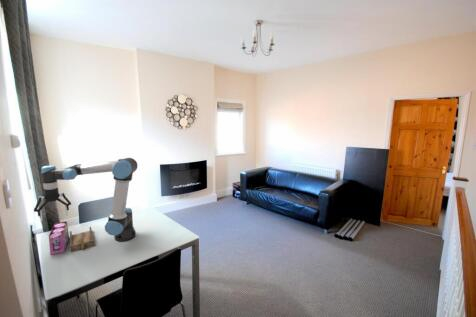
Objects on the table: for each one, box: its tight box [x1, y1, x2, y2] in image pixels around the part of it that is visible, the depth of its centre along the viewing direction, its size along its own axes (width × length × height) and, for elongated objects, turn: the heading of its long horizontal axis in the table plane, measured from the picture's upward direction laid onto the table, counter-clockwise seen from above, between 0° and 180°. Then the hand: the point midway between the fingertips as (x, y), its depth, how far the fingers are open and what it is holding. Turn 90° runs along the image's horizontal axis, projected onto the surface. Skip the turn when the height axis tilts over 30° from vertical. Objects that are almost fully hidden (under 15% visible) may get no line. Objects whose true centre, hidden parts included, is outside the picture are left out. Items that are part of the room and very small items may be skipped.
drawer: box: [69, 226, 95, 252], centre depth 172 cm, size 14×29×8 cm, turn 36°
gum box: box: [48, 221, 70, 256], centre depth 165 cm, size 24×8×14 cm, turn 29°
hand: (54, 217), depth 160 cm, fingers open, 13 cm apart
